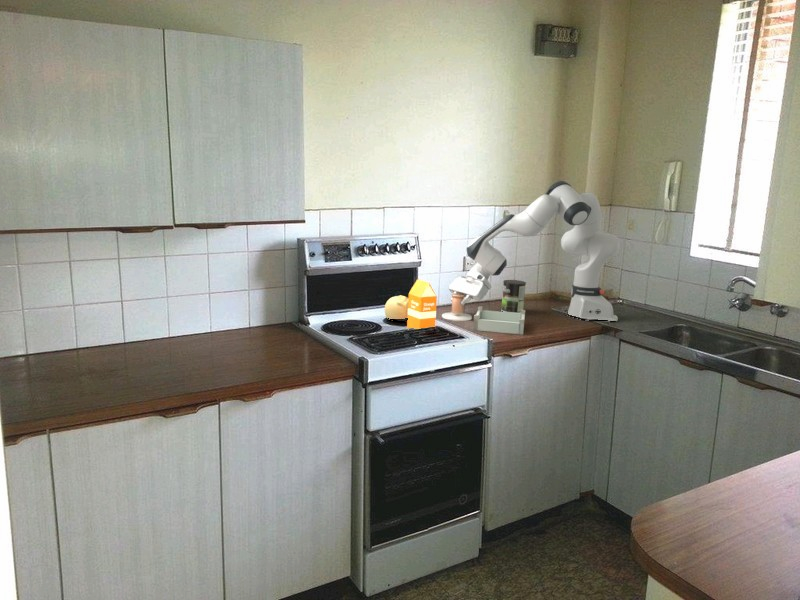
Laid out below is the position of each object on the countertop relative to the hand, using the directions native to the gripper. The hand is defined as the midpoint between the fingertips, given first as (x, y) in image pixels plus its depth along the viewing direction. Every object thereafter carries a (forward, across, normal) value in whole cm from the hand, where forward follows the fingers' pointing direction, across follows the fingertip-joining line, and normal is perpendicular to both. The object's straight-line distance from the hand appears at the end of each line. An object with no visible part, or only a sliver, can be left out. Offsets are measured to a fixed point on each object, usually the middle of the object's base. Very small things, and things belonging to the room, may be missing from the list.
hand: (456, 302), depth 293 cm
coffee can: (-19, 0, +29) cm, 34 cm away
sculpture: (+24, -6, -14) cm, 28 cm away
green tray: (0, +21, +9) cm, 23 cm away
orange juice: (+25, +12, -15) cm, 31 cm away
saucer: (+4, 0, +5) cm, 7 cm away
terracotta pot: (+3, 0, +4) cm, 4 cm away
